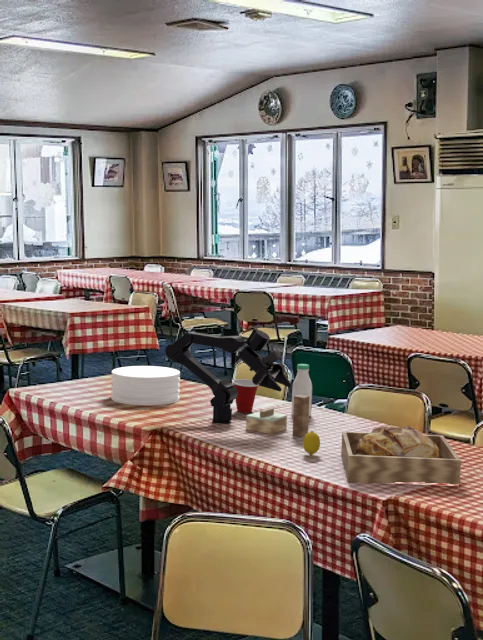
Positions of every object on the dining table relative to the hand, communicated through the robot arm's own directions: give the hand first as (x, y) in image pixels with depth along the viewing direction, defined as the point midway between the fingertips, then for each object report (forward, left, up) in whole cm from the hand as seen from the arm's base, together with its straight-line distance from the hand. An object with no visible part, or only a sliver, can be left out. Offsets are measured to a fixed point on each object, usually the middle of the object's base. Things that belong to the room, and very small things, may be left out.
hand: (286, 388), depth 332 cm
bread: (+34, -48, -16) cm, 61 cm away
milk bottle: (+7, +26, -15) cm, 31 cm away
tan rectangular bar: (+6, -7, -15) cm, 18 cm away
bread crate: (+35, -48, -15) cm, 61 cm away
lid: (-7, 0, -11) cm, 13 cm away
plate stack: (-57, +47, -16) cm, 76 cm away
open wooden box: (-7, 0, -15) cm, 17 cm away
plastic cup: (-15, +29, -15) cm, 36 cm away
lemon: (+9, -34, -15) cm, 38 cm away
